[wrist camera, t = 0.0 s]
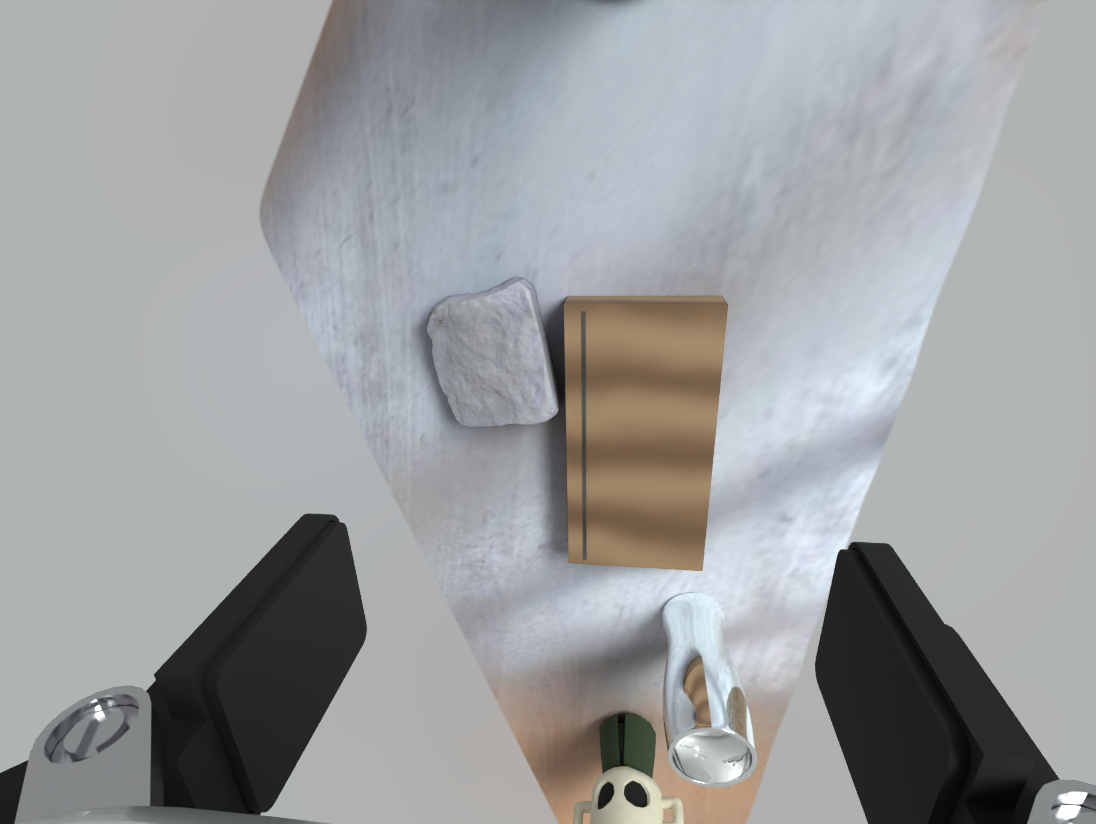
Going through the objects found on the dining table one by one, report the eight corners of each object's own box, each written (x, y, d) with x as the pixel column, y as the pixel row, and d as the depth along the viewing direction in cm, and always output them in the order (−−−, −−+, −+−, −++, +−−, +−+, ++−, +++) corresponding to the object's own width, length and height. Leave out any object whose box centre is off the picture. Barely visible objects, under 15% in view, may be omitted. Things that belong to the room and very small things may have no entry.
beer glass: (724, 645, 58) (753, 794, 44) (655, 639, 59) (662, 783, 45) (732, 591, 55) (766, 732, 41) (659, 585, 56) (668, 721, 42)
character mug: (669, 701, 62) (678, 829, 50) (682, 747, 64) (693, 878, 52) (573, 710, 64) (559, 833, 52) (588, 753, 67) (579, 880, 55)
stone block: (474, 416, 53) (573, 406, 49) (449, 438, 49) (555, 429, 45) (436, 291, 50) (541, 269, 46) (406, 304, 45) (518, 281, 41)
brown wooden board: (567, 296, 46) (563, 304, 43) (721, 295, 44) (728, 304, 41) (571, 543, 55) (568, 563, 52) (698, 550, 54) (702, 571, 51)
